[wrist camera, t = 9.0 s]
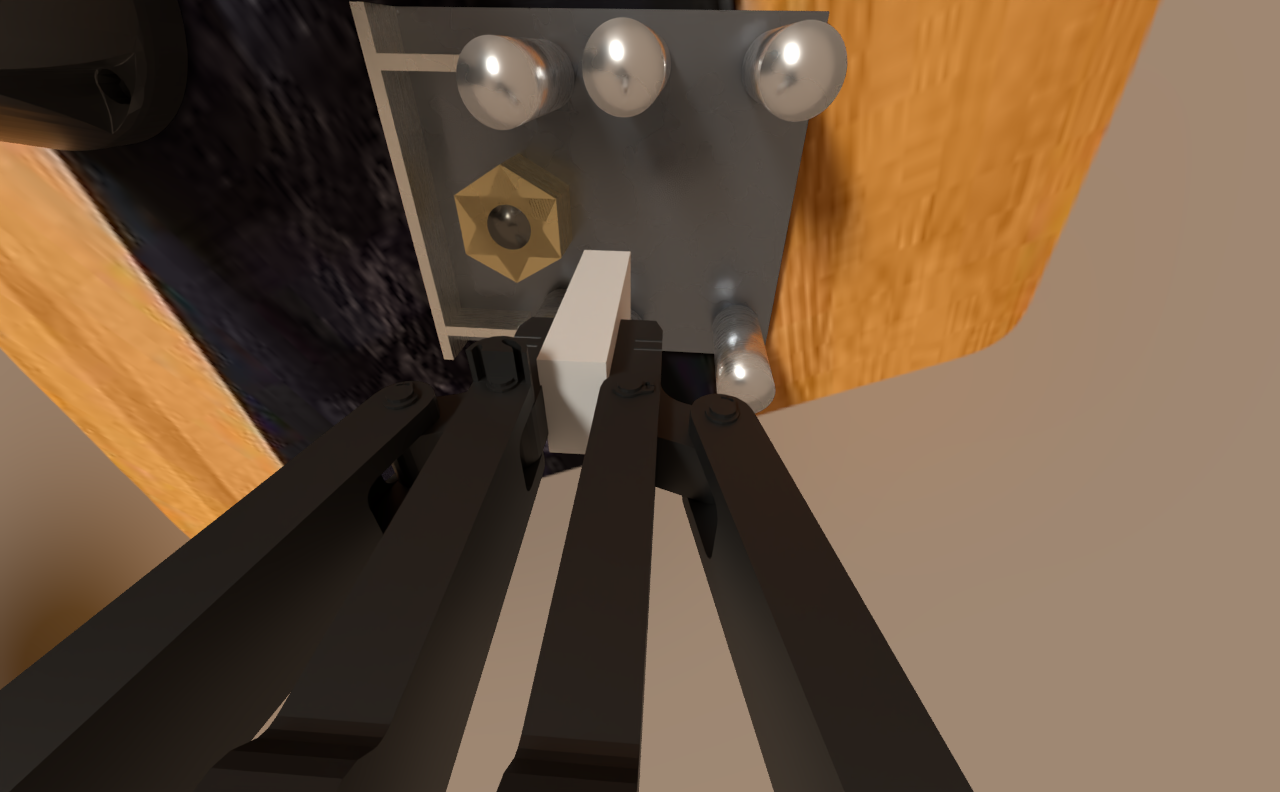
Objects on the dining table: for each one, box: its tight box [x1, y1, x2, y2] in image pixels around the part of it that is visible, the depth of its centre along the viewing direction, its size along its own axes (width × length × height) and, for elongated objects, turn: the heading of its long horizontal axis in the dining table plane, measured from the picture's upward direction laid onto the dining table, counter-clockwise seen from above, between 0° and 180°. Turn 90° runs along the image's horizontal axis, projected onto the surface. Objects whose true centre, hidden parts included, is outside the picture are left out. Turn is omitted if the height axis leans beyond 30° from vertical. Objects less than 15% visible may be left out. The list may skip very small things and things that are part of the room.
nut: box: [454, 153, 573, 283], centre depth 25 cm, size 5×6×3 cm
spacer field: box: [349, 2, 847, 413], centre depth 23 cm, size 20×17×8 cm
